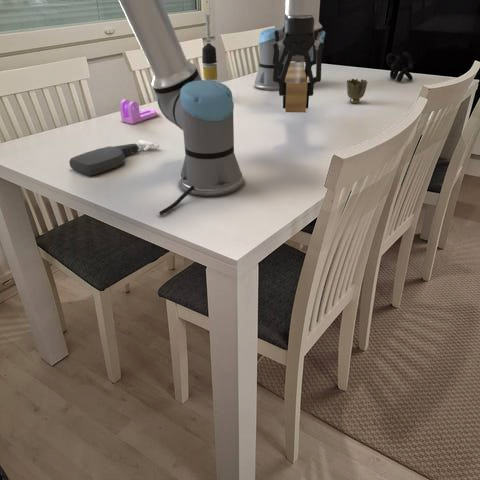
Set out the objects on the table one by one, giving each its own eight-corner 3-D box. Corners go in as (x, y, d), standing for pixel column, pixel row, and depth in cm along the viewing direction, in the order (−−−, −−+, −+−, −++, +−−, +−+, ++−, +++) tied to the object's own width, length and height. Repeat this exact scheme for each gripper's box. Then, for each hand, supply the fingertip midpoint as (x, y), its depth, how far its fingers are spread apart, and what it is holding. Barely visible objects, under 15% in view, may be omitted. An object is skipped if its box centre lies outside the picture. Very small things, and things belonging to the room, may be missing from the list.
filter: (220, 99, 177) (217, 15, 161) (206, 100, 176) (202, 16, 160) (215, 96, 182) (212, 14, 166) (202, 97, 180) (197, 14, 164)
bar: (305, 112, 124) (307, 83, 120) (285, 112, 124) (286, 83, 120) (301, 87, 149) (303, 62, 145) (284, 86, 150) (285, 62, 145)
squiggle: (400, 92, 202) (376, 71, 205) (417, 76, 202) (392, 56, 205) (405, 81, 191) (380, 59, 194) (423, 64, 191) (397, 42, 194)
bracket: (132, 123, 152) (129, 103, 148) (121, 121, 155) (118, 100, 151) (160, 114, 161) (157, 95, 157) (149, 112, 164) (147, 92, 160)
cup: (342, 103, 169) (344, 81, 165) (347, 99, 174) (350, 77, 170) (361, 106, 166) (364, 83, 162) (366, 101, 171) (369, 79, 167)
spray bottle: (67, 168, 120) (139, 144, 136) (91, 178, 114) (163, 151, 130) (65, 157, 118) (137, 134, 134) (89, 167, 112) (162, 142, 128)
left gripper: (335, 14, 117) (327, 103, 129) (264, 15, 118) (263, 103, 131) (338, 17, 111) (329, 111, 123) (262, 18, 112) (262, 110, 124)
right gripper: (329, 6, 136) (323, 84, 149) (264, 7, 138) (264, 84, 150) (331, 8, 130) (325, 89, 142) (264, 9, 132) (263, 89, 144)
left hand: (295, 107), depth 127 cm, fingers closed on bar, 6 cm apart
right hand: (293, 86), depth 146 cm, fingers open, 7 cm apart
